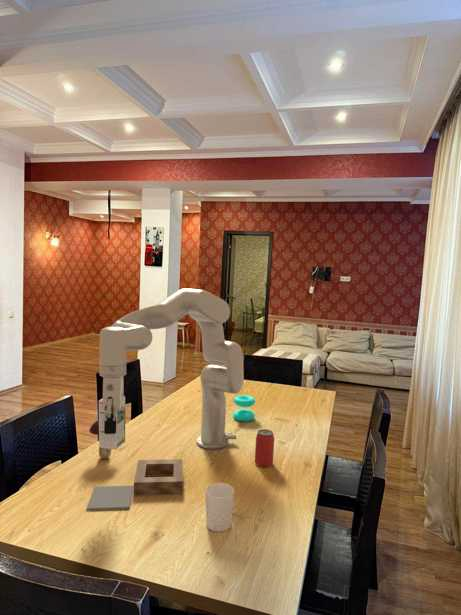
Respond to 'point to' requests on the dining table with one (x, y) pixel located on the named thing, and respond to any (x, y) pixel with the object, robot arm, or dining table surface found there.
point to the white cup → (219, 506)
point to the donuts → (244, 413)
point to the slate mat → (110, 498)
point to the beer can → (264, 448)
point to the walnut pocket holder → (159, 484)
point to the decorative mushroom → (103, 452)
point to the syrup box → (119, 437)
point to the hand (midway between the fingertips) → (112, 427)
